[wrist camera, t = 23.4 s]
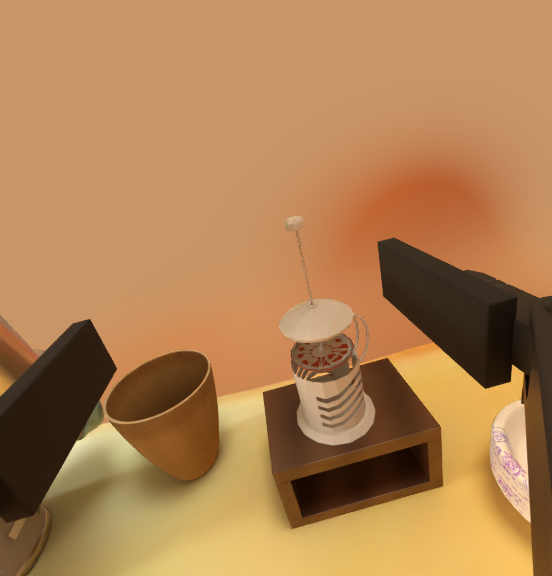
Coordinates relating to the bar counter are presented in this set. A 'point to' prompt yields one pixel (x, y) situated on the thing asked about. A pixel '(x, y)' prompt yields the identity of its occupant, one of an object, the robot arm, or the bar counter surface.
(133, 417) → the plant pot
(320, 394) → the french press
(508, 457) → the paper bowls
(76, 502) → the bar counter surface
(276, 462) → the shelf
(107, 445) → the bar counter surface
